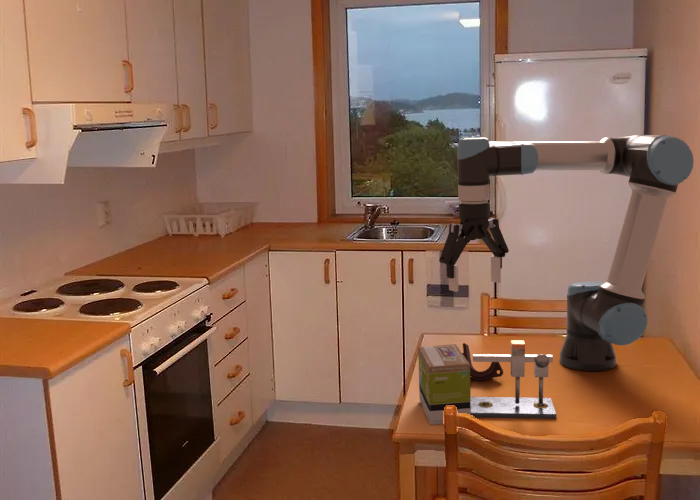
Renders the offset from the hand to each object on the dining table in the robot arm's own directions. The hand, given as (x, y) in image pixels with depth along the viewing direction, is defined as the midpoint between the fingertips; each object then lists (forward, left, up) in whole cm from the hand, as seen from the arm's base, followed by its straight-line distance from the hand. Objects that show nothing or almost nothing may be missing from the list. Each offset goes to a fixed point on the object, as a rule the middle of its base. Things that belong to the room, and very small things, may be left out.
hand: (475, 286), depth 193 cm
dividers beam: (-8, +11, -26) cm, 30 cm away
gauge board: (-8, +11, -28) cm, 31 cm away
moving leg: (-10, +11, -26) cm, 30 cm away
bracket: (+1, -11, -28) cm, 30 cm away
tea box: (+8, +13, -28) cm, 32 cm away
